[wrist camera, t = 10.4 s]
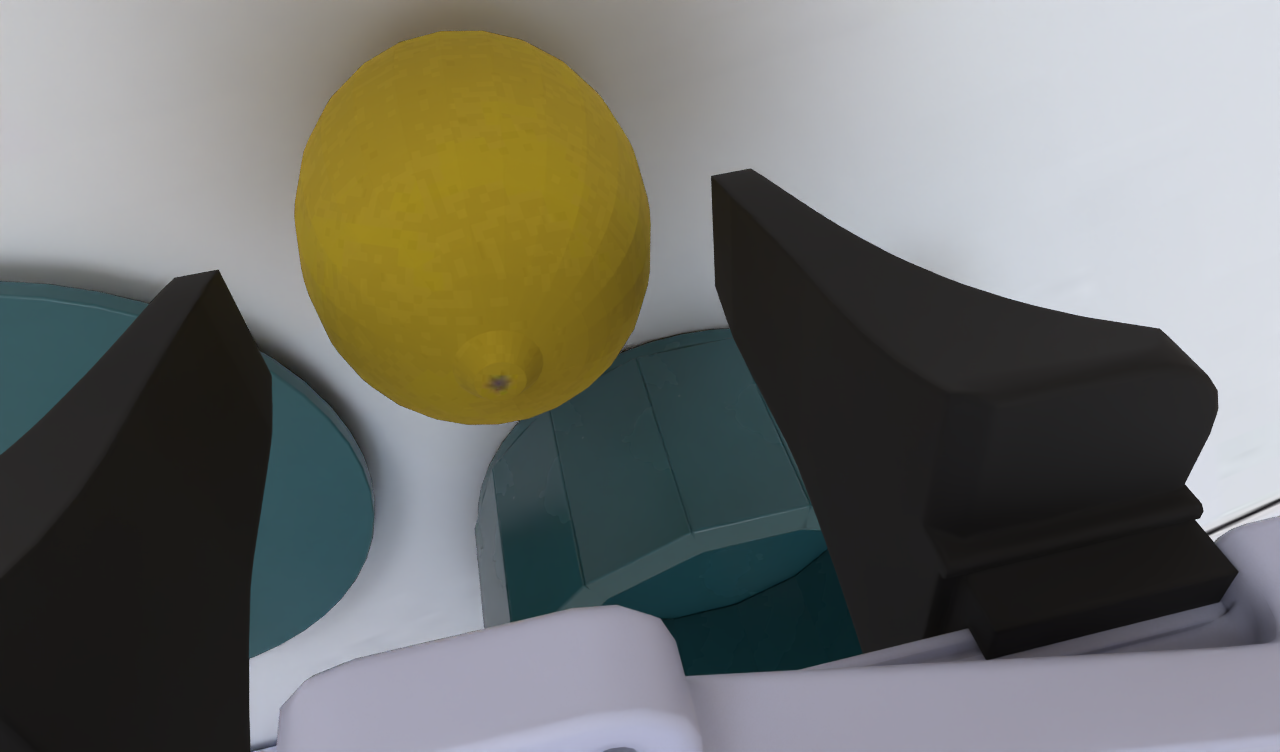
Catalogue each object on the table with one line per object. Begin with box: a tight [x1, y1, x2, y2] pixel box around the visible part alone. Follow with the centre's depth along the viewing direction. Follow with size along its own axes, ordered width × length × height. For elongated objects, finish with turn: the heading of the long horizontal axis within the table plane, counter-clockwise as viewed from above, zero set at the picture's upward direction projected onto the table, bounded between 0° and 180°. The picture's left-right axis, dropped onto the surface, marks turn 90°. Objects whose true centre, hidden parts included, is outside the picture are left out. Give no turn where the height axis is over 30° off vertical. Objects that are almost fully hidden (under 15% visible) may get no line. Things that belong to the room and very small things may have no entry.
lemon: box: [294, 31, 651, 425], centre depth 15 cm, size 6×6×8 cm
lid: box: [0, 281, 375, 659], centre depth 20 cm, size 14×14×5 cm
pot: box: [475, 329, 863, 676], centre depth 25 cm, size 13×18×6 cm
